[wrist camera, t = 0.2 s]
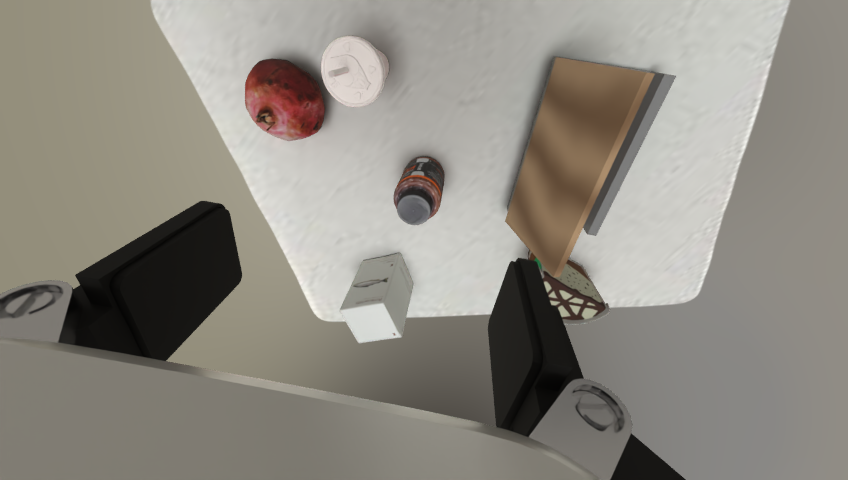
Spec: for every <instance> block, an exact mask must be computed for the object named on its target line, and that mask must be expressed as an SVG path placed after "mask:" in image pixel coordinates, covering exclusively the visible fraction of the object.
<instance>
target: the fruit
mask: <svg viewBox="0 0 848 480" xmlns="http://www.w3.org/2000/svg"><path fill="white" fill-rule="evenodd" d="M245 104H246V108H247V110H248V112H249V114H250V116H251V117H252V119H253V121H254V122H255V123H256V124H257V125H258V126H259V127H260V128H261V129H263V130H264V131H265V132H267V133H269V134H271V135H273V136H275V137H278V138H280V139H283V140H287V141H292V140H298V139H303V138H306V137H309V136H311V135H313V134H315V133H316V132H318V131H319V129H320V128H321V126H322V123H323V119H324V113H325V106H324V102H323V98H322V94H321V91H320V88H319V86H318V84H317V82H316V80H315V79H314V78H313V77H312V76H311V75H310V74H309V73H308V72H306V71H304V70H303V69H301V68H299V67H297V66H295V65H294V64H292V63H291V62H289V61H287V60H281V59H266V60H262V61H259V62H258V63H257V64H256V65H255V66H254V67H253V68H252V70H251V71H250V73H249V75H248V77H247V80H246V84H245Z"/></svg>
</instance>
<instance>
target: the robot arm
mask: <svg viewBox="0 0 848 480" xmlns="http://www.w3.org/2000/svg"><path fill="white" fill-rule="evenodd" d="M75 276H76V278H77V279H78V281H79V283H80V286H78V287H77V288H75V289H73V288H72V286H71V285H69V284H68V283H67V282H63V281H54V280H53V281H52V280H48V281H39V282H34V283H29V284H25V285H22V286H19V287H16V288H13V289H10V290H8V291H6V292H4V293H2V294H0V480H685V479H684V478H683V477H682V476H681V475H680V474H678V473H677V472H676V471H675V470H673V468H671V467H670V466H669V465H668V464H667V463H665V462H664V461H663V460H662V459H661V458H659V457H658V456H657V455H656V454H655V453H654V452H652V451H651V450H650V449H649V448H648V447H647V446H645V445H644V444H643V443H642V442H641V441H639V440H638V439H637V438H636V437H635V436H634V435H632V434H631V431H632V421H631V416H630V414H629V412H628V410H627V408H626V406H625V405H624V404H623V403H622V401H621V400H620V399H619V398H618V396H616V395H615V394H614V393H613V392H612V391H611V390H609V389H608V388H606V387H605V386H603V385H601V384H600V383H597V382H595V381H592V380H588V379H584V378H583V375H582V372H581V369H580V367H579V364H578V361H577V358H576V356H575V353H574V350H573V347H572V345H571V342H570V339H569V336H568V334H567V331H566V328H565V325H564V322H563V319H562V317H561V314H560V311H559V309H558V307H557V306H555V305H551V302H550V299H549V296H548V293H547V290H546V287H545V284H544V281H543V278H542V275H541V272H540V270H539V267H538V264H537V262H536V261H533V260H527V259H522V258H518V259H517V260H516V262H513V261H511V262H510V264H509V266H508V269H507V272H506V275H505V277H504V280H503V283H502V286H501V289H500V291H499V294H498V297H497V300H496V303H495V305H494V308H493V311H492V314H491V317H490V319H489V325H488V334H489V346H490V357H491V370H492V382H493V394H494V406H495V418H496V426H497V427H494V426H490V425H486V424H483V423H479V422H475V421H470V420H465V419H461V418H456V417H451V416H447V415H442V414H437V413H432V412H428V411H423V410H418V409H413V408H408V407H403V406H398V405H393V404H388V403H382V402H378V401H372V400H367V399H362V398H357V397H352V396H347V395H342V394H337V393H332V392H326V391H321V390H316V389H311V388H305V387H300V386H295V385H290V384H284V383H279V382H274V381H268V380H264V379H258V378H252V377H248V376H242V375H237V374H232V373H226V372H221V371H216V370H210V369H205V368H199V367H193V366H189V365H183V364H178V363H172V362H167V361H166V360H167V359H168V358H169V357H170V356H171V355H172V354H173V353H174V352H175V351H176V350H177V349H178V348H179V347H180V345H181V344H182V343H183V342H184V341H185V340H186V339H187V338H188V337H189V336H190V335H191V334H192V333H193V332H194V331H195V330H196V329H197V328H198V326H199V325H200V324H201V323H202V322H203V321H204V320H205V319H206V318H207V317H208V316H209V315H210V314H211V313H212V312H213V311H214V310H215V308H216V307H217V306H218V305H219V304H220V303H221V302H222V301H223V300H224V299H225V298H226V297H227V296H228V295H229V294H230V293H231V292H232V291H233V289H234V288H235V287H236V286H237V285H238V284H239V283H240V281H241V278H242V271H241V266H240V261H239V256H238V252H237V247H236V242H235V237H234V232H233V227H232V222H231V217H230V213H229V211H228V210H226V209H225V207H224V206H223V205H222V204H219V203H213V202H207V201H200V202H199V203H197V204H195V205H193V206H191V207H190V208H188V209H186V210H185V211H183V212H181V213H180V214H178V215H176V216H174V217H173V218H171V219H169V220H168V221H166V222H164V223H163V224H161V225H159V226H158V227H156V228H154V229H152V230H151V231H149V232H147V233H146V234H144V235H142V236H141V237H139V238H137V239H135V240H134V241H132V242H130V243H129V244H127V245H125V246H124V247H122V248H120V249H119V250H117V251H115V252H113V253H112V254H110V255H108V256H107V257H105V258H103V259H101V260H100V261H98V262H97V263H95V264H93V265H92V266H90V267H88V268H86V269H85V270H83V271H81V272H79V273H78V274H76V275H75Z"/></svg>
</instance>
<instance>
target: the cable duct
mask: <svg viewBox="0 0 848 480" xmlns="http://www.w3.org/2000/svg"><path fill="white" fill-rule="evenodd" d="M559 58H561V57H559ZM555 59H556V57H553V60H552V64H551V67H550V70H549V74H548V77H547V80H546V83H545V87H544V90H543V93H542V96H541V100H540V103H539V106H538V109H537V113H536V116H535V119H534V122H533V126H532V129H531V132H530V136H529V139H528V142H527V145H526V149H525V152H524V155H523V158H522V162H521V165H520V168H519V171H518V175H517V178H516V181H515V184H514V188H513V191H512V194H511V198H510V201H509V204H508V207H507V210H508V211H509V207H510V204H511V201H512V198H513V195H514V191H515V188H516V185H517V182H518V178H519V175H520V172H521V169H522V166H523V162H524V159H525V156H526V153H527V149H528V146H529V143H530V140H531V137H532V133H533V130H534V127H535V124H536V120H537V117H538V114H539V111H540V108H541V104H542V101H543V98H544V95H545V91H546V88H547V85H548V82H549V79H550V75H551V72H552V69H553V66H554V62H555ZM565 59H567V58H565ZM571 60H573V59H571ZM577 61H580V60H577ZM583 62H586V61H583ZM589 63H593V62H589ZM595 64H599V63H595ZM601 65H605V64H601ZM607 66H612V65H607ZM612 67H618V66H612ZM618 68H624V67H618ZM624 69H630V70H636V71H642V72H648V73H654V74H655V75H654V77H653V79H652V81H651V83H650V85H649V87H648V90H647V92H646V94H645V96H644V98H643V100H642V102H641V104H640V107H639V109H638V111H637V113H636V115H635V117H634V119H633V122H632V124H631V126H630V128H629V130H628V132H627V134H626V137H625V139H624V141H623V143H622V145H621V147H620V149H619V151H618V154H617V156H616V158H615V160H614V162H613V164H612V166H611V169H610V171H609V173H608V175H607V177H606V179H605V181H604V183H603V186H602V188H601V190H600V192H599V194H598V196H597V198H596V201H595V203H594V205H593V207H592V209H591V211H590V213H589V215H588V218H587V220H586V222H585V224H584V226H583V228H584V230H585V231H586V233H587V234H589V235H595V236H596V235H597V233H598V231H599V229H600V227H601V225H602V223H603V221H604V219H605V217H606V215H607V213H608V211H609V209H610V207H611V205H612V203H613V201H614V199H615V197H616V195H617V193H618V191H619V189H620V187H621V185H622V183H623V181H624V179H625V177H626V175H627V173H628V171H629V169H630V167H631V165H632V163H633V161H634V159H635V157H636V155H637V153H638V151H639V149H640V147H641V145H642V143H643V141H644V139H645V137H646V135H647V133H648V131H649V129H650V127H651V125H652V123H653V121H654V119H655V117H656V115H657V113H658V111H659V109H660V107H661V105H662V103H663V101H664V99H665V97H666V95H667V93H668V91H669V89H670V87H671V85H672V83H673V81H674V79H675V77H676V76H674V75H668V74H662V73H656V72H650V71H644V70H637V69H631V68H624Z"/></svg>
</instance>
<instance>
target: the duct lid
mask: <svg viewBox="0 0 848 480" xmlns="http://www.w3.org/2000/svg"><path fill="white" fill-rule="evenodd" d="M654 75H655V74H654V73H648V72H642V71H636V70H630V69H624V68H618V67H612V66H607V65H601V64H595V63H589V62H583V61H577V60H571V59H565V58H559V57H556V59H555V62H554V66H553V69H552V72H551V75H550V79H549V82H548V85H547V88H546V91H545V95H544V98H543V101H542V104H541V108H540V111H539V114H538V117H537V120H536V124H535V127H534V130H533V133H532V137H531V140H530V143H529V146H528V149H527V153H526V156H525V159H524V162H523V166H522V169H521V172H520V175H519V178H518V182H517V185H516V188H515V191H514V195H513V198H512V201H511V204H510V207H509V211H508V214H507V217H506V220H505V222H506V223H507V224H508V225H509V226H510V227H511V229H512V230H513V231H514V232H515V233H516V234H517V236H518V237H519V238H520V239H521V240H522V241H523V243H524V244H525V245H526V246H527V247H528V248H529V249H530V251H531V252H532V253H533V254H534V255H535V256H536V258H537V259H538V260H539V261H540V262H541V263H542V265H543V266H544V267H545V268H546V269H547V270H548V271H549V273H550V274H551V275H552V276H553V277H560V275H561V273H562V271H563V269H564V267H565V265H566V262H567V260H568V258H569V256H570V254H571V252H572V250H573V248H574V245H575V243H576V241H577V239H578V237H579V235H580V233H581V230H582V228H583V226H584V224H585V222H586V220H587V218H588V215H589V213H590V211H591V209H592V207H593V205H594V203H595V201H596V198H597V196H598V194H599V192H600V190H601V188H602V186H603V183H604V181H605V179H606V177H607V175H608V173H609V171H610V169H611V166H612V164H613V162H614V160H615V158H616V156H617V154H618V151H619V149H620V147H621V145H622V143H623V141H624V139H625V137H626V134H627V132H628V130H629V128H630V126H631V124H632V122H633V119H634V117H635V115H636V113H637V111H638V109H639V107H640V104H641V102H642V100H643V98H644V96H645V94H646V92H647V90H648V87H649V85H650V83H651V81H652V79H653V77H654Z"/></svg>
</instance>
